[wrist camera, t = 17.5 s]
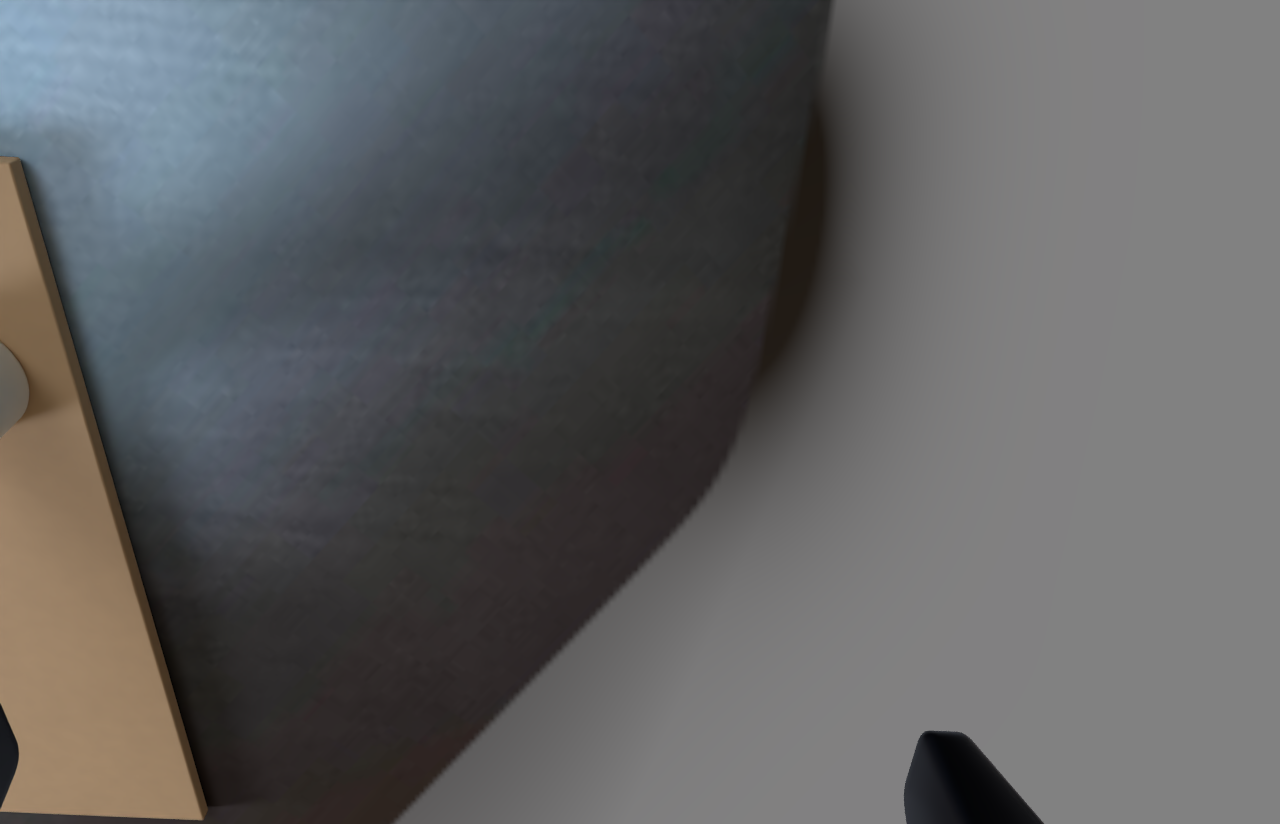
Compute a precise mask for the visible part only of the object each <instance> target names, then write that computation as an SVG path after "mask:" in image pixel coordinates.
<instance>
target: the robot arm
mask: <svg viewBox="0 0 1280 824" xmlns="http://www.w3.org/2000/svg"><path fill="white" fill-rule="evenodd" d="M18 761H19V747H18V743H17V740H16V738H15V735H14V733H13V731H12V729H11V726H10V724H9V722H8V719H7V717H6V715H5V712H4V710H3V708H2V705H1V703H0V809H1V807H2V804H3V802H4V799H5V797H6V795H7V792H8V790H9V787H10V785H11V782H12V780H13V777H14V775H15V772H16V769H17V765H18ZM904 806H905V814H906V822H907V824H1044V823H1043V822H1042V821H1041V820H1040V818H1039V817H1038V816H1037V815H1036V814H1035V813H1034V811H1033V810H1032V809H1031V808H1030V807H1029V806H1028V805H1027V803H1026V802H1025V801H1024V800H1023V799H1022V798H1021V796H1020V795H1019V794H1018V793H1017V792H1016V791H1015V790H1014V789H1013V787H1012V786H1011V785H1010V784H1009V783H1008V782H1007V780H1006V779H1005V778H1004V777H1003V776H1002V774H1001V773H1000V772H999V771H998V770H997V769H996V768H995V766H994V765H993V764H992V763H991V762H990V761H989V759H988V758H987V757H986V756H985V755H984V754H983V752H982V751H981V750H980V749H979V748H978V747H977V746H976V745H975V743H974V742H973V741H972V740H971V739H970V738H969V737H968V736H966V735H965V734H963V733H960V732H949V731H948V732H947V731H925V732H924V733H923V734H922V735H921V736H920V738H919V740H918V743H917V746H916V750H915V753H914V756H913V759H912V763H911V766H910V769H909V773H908V776H907V779H906V783H905V789H904Z"/></svg>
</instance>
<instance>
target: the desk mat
mask: <svg viewBox="0 0 1280 824" xmlns="http://www.w3.org/2000/svg"><path fill="white" fill-rule="evenodd" d="M0 342H1V343H3V344H4V345H5V346H6V347H7V348H8V349H9V350H10V351H11V352H12V354H13V355H14V356H15V357H16V359H17V360H18V361H19V363H20V365H21V366H22V368H23V370H24V372H25V375H26V377H27V381H28V384H29V401H28V406H27V408H26V411H25V413H24V414H23V416H22V417H21V418H20V419H19V420H18V421H17V422H16V423H15V424H14V425H13V426H12V427H11V428H10V429H9V430H8V431H7V432H6V433H5V434H4V435H3V436H2V437H1V438H0V703H1V705H2V708H3V710H4V712H5V715H6V717H7V719H8V722H9V724H10V726H11V729H12V731H13V733H14V735H15V738H16V740H17V743H18V747H19V761H18V765H17V769H16V772H15V775H14V777H13V780H12V782H11V785H10V787H9V790H8V792H7V795H6V797H5V799H4V802H3V804H2V807H1V809H0V812H23V813H47V814H71V815H94V816H118V817H142V818H165V819H189V820H204V818H205V815H206V813H207V811H208V808H207V805H206V801H205V798H204V794H203V791H202V787H201V784H200V780H199V777H198V773H197V770H196V766H195V763H194V760H193V756H192V753H191V749H190V746H189V742H188V739H187V735H186V732H185V728H184V725H183V721H182V718H181V715H180V711H179V708H178V704H177V701H176V697H175V694H174V690H173V687H172V683H171V680H170V676H169V673H168V669H167V666H166V663H165V659H164V656H163V652H162V649H161V645H160V642H159V638H158V635H157V631H156V628H155V624H154V621H153V618H152V614H151V611H150V607H149V604H148V600H147V597H146V593H145V590H144V586H143V583H142V579H141V576H140V573H139V569H138V566H137V562H136V559H135V555H134V552H133V548H132V545H131V541H130V538H129V534H128V531H127V528H126V524H125V521H124V517H123V514H122V510H121V507H120V503H119V500H118V496H117V493H116V489H115V486H114V483H113V479H112V476H111V472H110V469H109V465H108V462H107V458H106V455H105V451H104V448H103V444H102V441H101V438H100V434H99V431H98V427H97V424H96V420H95V417H94V413H93V410H92V406H91V403H90V399H89V396H88V393H87V389H86V386H85V382H84V379H83V375H82V372H81V368H80V365H79V361H78V358H77V354H76V351H75V348H74V344H73V341H72V337H71V334H70V330H69V327H68V323H67V320H66V316H65V313H64V309H63V306H62V303H61V299H60V296H59V292H58V289H57V285H56V282H55V278H54V275H53V271H52V268H51V264H50V261H49V258H48V254H47V251H46V247H45V244H44V240H43V237H42V233H41V230H40V226H39V223H38V219H37V216H36V213H35V209H34V206H33V202H32V199H31V195H30V192H29V188H28V185H27V181H26V178H25V174H24V171H23V167H22V164H21V161H20V158H18V157H4V156H0Z"/></svg>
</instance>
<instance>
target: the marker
mask: <svg viewBox="0 0 1280 824" xmlns="http://www.w3.org/2000/svg"><path fill="white" fill-rule="evenodd" d="M28 401H29V384H28V381H27V377H26V375H25V372H24V370H23V368H22V366H21V365H20V363H19V361H18V360H17V359H16V357H15V356H14V355H13V354H12V352H11V351H10V350H9V349H8V348H7V347H6V346H5V345H4V344H3V343H1V342H0V438H1V437H2V436H3V435H4V434H5V433H6V432H7V431H8V430H9V429H10V428H11V427H12V426H13V425H14V424H15V423H16V422H17V421H18V420H19V419H20V418H21V417H22V416H23V414H24V413H25V411H26V408H27V406H28Z"/></svg>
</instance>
